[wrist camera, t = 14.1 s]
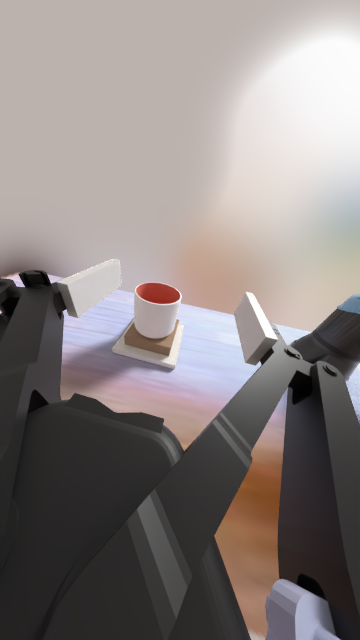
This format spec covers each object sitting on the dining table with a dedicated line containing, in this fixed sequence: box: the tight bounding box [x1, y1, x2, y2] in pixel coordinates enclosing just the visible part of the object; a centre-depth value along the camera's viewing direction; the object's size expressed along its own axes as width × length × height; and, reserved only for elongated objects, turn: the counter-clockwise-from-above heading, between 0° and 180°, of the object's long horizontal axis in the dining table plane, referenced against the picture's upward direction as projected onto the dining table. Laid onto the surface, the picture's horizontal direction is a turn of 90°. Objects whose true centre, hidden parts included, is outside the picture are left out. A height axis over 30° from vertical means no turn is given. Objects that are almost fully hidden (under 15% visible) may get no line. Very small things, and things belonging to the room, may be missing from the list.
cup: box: [134, 282, 182, 339], centre depth 33 cm, size 10×10×10 cm
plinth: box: [112, 319, 184, 369], centre depth 37 cm, size 15×15×4 cm
